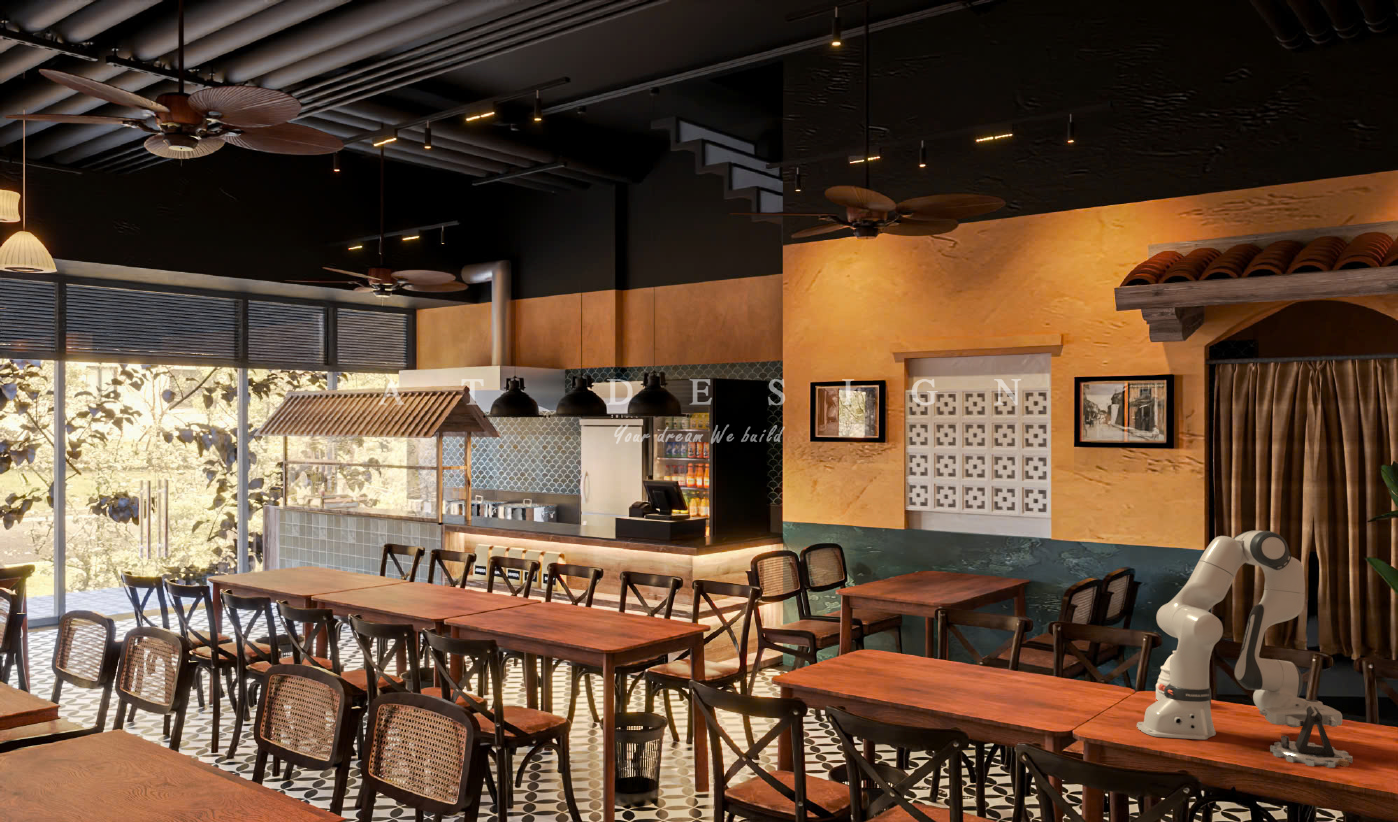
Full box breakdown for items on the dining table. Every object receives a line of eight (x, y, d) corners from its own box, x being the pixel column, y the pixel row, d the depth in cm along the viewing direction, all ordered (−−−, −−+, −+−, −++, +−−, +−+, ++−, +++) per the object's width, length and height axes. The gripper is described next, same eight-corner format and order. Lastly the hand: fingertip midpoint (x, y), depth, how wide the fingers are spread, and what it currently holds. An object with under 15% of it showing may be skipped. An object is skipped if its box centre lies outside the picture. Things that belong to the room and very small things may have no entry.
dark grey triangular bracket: (1298, 752, 290) (1297, 710, 290) (1295, 745, 296) (1294, 704, 296) (1334, 756, 287) (1334, 713, 287) (1330, 749, 292) (1330, 707, 292)
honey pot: (1201, 707, 348) (1200, 654, 348) (1160, 705, 350) (1160, 652, 351) (1190, 698, 360) (1189, 647, 361) (1151, 696, 363) (1151, 645, 363)
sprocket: (1294, 767, 282) (1294, 750, 282) (1256, 745, 302) (1256, 730, 302) (1368, 768, 281) (1368, 751, 282) (1325, 746, 302) (1325, 731, 302)
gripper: (1256, 700, 306) (1280, 712, 292) (1325, 701, 305) (1353, 712, 292) (1256, 721, 306) (1281, 734, 292) (1325, 722, 305) (1353, 735, 291)
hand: (1317, 723), depth 292 cm, fingers open, 8 cm apart
